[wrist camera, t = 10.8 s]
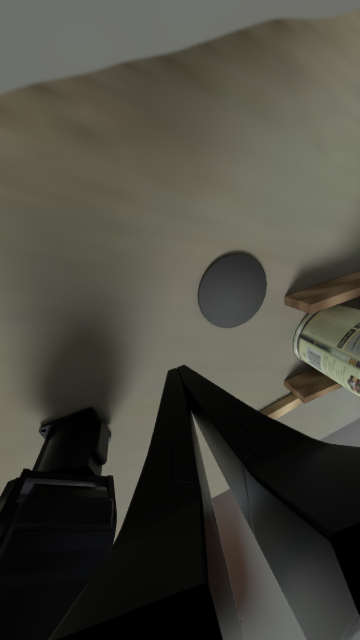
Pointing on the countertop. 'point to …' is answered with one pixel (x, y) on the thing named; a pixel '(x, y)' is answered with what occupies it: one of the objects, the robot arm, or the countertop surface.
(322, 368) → the coffee can
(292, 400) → the oak stirring stick
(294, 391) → the walnut cubby
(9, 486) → the robot arm
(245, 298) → the mat
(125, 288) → the countertop surface
